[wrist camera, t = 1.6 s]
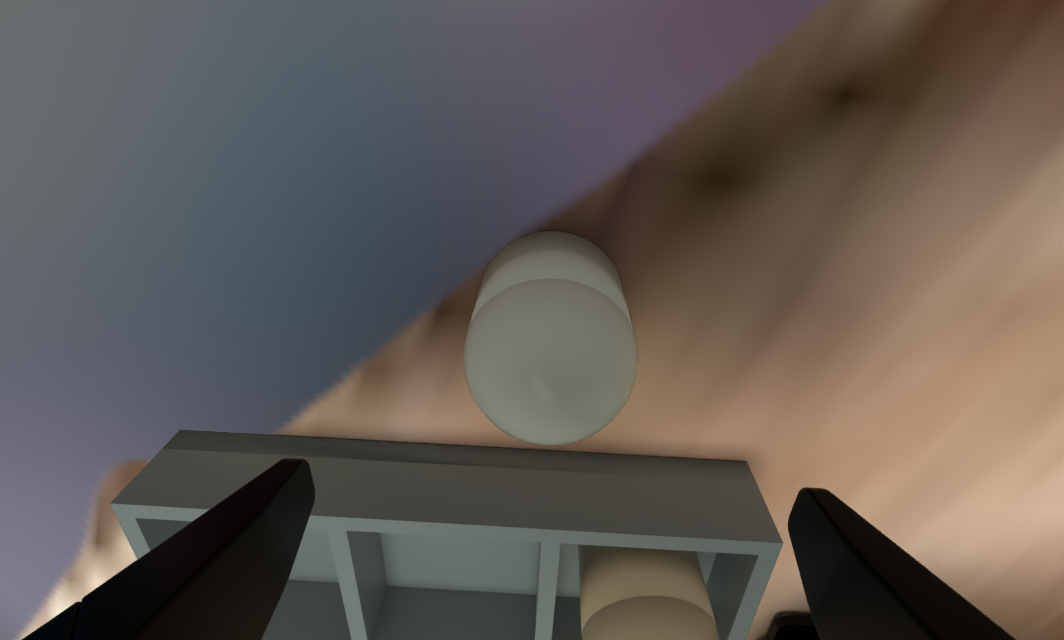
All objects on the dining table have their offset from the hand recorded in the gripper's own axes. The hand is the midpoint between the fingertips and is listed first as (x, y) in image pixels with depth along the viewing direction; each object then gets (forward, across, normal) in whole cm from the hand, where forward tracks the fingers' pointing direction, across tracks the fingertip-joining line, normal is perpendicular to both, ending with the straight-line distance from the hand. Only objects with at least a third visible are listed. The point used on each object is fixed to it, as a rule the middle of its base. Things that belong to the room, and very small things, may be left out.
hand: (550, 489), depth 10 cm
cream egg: (+8, 0, 0) cm, 8 cm away
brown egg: (+7, -4, +10) cm, 13 cm away
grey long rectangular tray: (+8, +3, +10) cm, 13 cm away
